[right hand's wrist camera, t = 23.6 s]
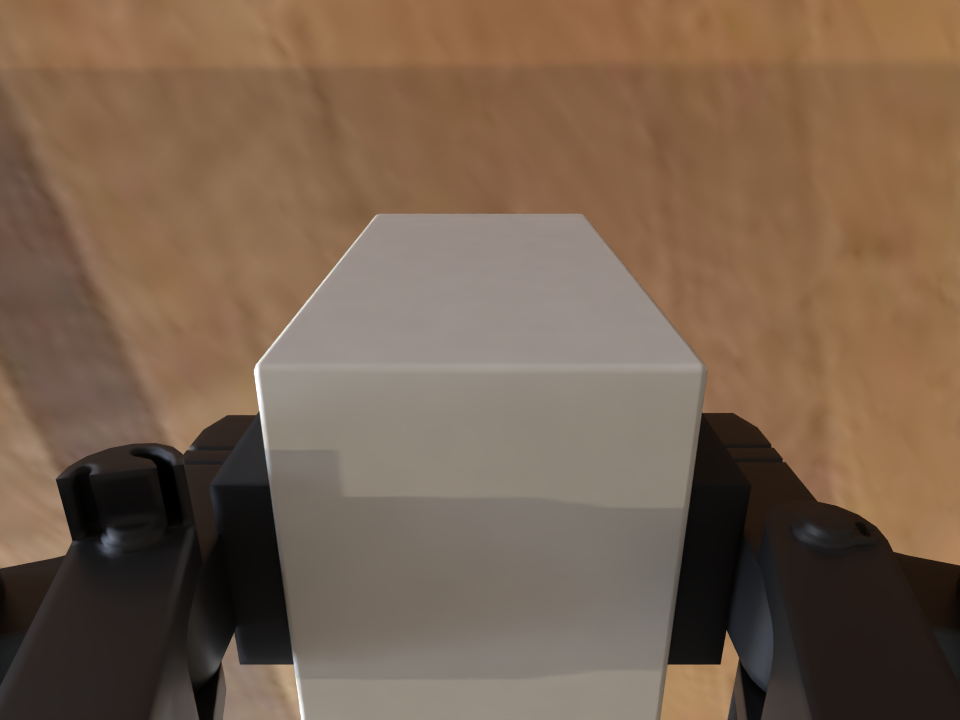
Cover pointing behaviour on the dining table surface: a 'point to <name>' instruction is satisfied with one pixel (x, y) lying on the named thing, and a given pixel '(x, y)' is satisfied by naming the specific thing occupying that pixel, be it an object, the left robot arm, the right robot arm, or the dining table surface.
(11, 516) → the dining table surface
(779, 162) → the dining table surface
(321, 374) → the block
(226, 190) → the dining table surface
